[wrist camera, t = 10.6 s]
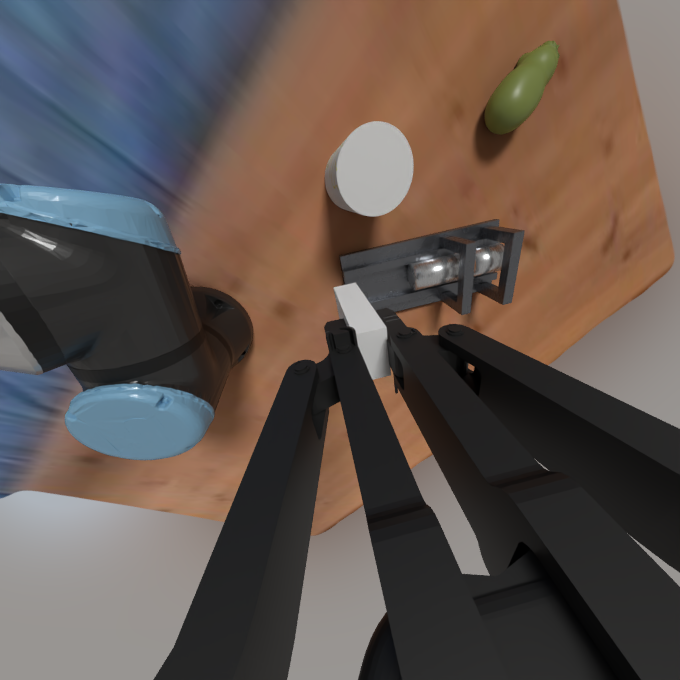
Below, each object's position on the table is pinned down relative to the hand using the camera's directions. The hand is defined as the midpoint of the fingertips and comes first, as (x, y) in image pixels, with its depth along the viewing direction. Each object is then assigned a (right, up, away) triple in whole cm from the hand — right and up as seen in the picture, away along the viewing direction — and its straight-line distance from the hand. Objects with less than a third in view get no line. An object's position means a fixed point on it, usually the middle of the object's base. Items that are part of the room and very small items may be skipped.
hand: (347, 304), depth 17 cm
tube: (+19, +10, +27) cm, 34 cm away
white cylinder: (+1, +21, +19) cm, 28 cm away
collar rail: (+14, +10, +28) cm, 32 cm away
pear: (+22, +31, +17) cm, 42 cm away
